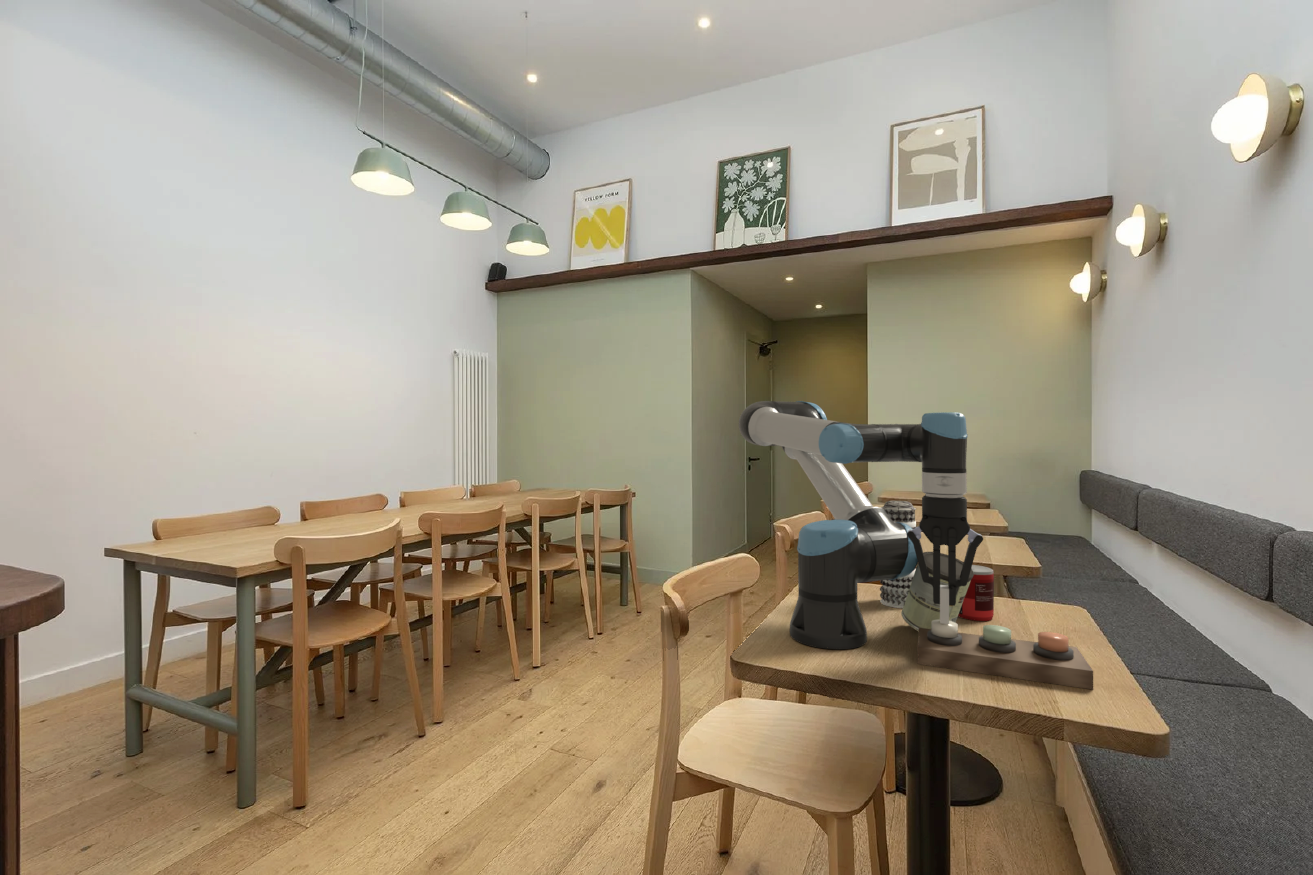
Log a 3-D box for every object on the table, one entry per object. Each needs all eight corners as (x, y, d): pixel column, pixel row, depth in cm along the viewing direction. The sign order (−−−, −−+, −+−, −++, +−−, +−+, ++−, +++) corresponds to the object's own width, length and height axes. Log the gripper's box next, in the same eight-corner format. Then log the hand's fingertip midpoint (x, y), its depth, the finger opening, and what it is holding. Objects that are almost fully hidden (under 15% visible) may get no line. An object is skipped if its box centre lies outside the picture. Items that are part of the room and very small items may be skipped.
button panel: (917, 663, 106) (917, 641, 106) (918, 642, 117) (918, 622, 117) (1093, 689, 95) (1093, 664, 95) (1076, 663, 106) (1076, 640, 106)
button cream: (931, 635, 109) (931, 625, 109) (931, 628, 113) (931, 618, 113) (958, 639, 107) (958, 628, 107) (957, 631, 111) (957, 621, 111)
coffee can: (901, 601, 131) (920, 545, 126) (951, 618, 127) (972, 562, 123) (899, 625, 122) (919, 566, 117) (952, 644, 118) (975, 584, 114)
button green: (984, 642, 105) (984, 630, 105) (982, 634, 109) (982, 623, 109) (1012, 645, 103) (1012, 634, 103) (1009, 637, 107) (1009, 626, 107)
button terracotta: (1040, 649, 101) (1040, 638, 101) (1036, 641, 105) (1036, 630, 105) (1071, 653, 100) (1071, 641, 100) (1065, 645, 104) (1065, 633, 104)
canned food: (957, 609, 140) (956, 562, 140) (995, 615, 135) (995, 567, 135) (951, 617, 133) (951, 568, 133) (991, 623, 129) (991, 573, 129)
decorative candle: (908, 598, 149) (908, 499, 149) (926, 608, 140) (925, 503, 140) (872, 598, 149) (872, 499, 149) (888, 609, 140) (887, 503, 140)
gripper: (905, 495, 109) (905, 622, 109) (985, 498, 104) (986, 632, 104) (906, 492, 116) (907, 611, 116) (982, 494, 110) (982, 620, 110)
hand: (944, 621), depth 110 cm, fingers closed
